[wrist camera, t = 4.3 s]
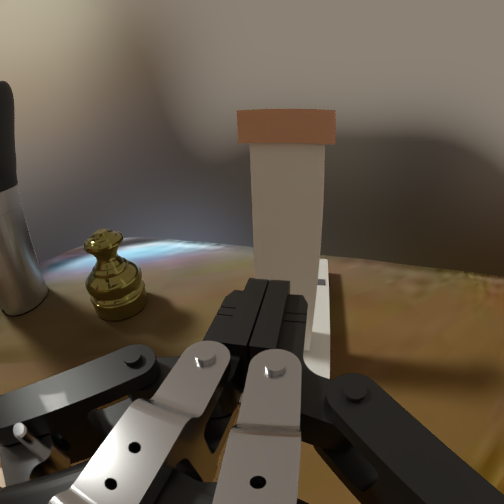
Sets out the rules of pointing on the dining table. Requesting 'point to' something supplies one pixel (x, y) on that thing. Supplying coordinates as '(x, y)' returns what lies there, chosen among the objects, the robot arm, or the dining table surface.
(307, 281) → the fader tab
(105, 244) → the brass knobbed piece
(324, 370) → the white scale plate
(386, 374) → the dining table surface
